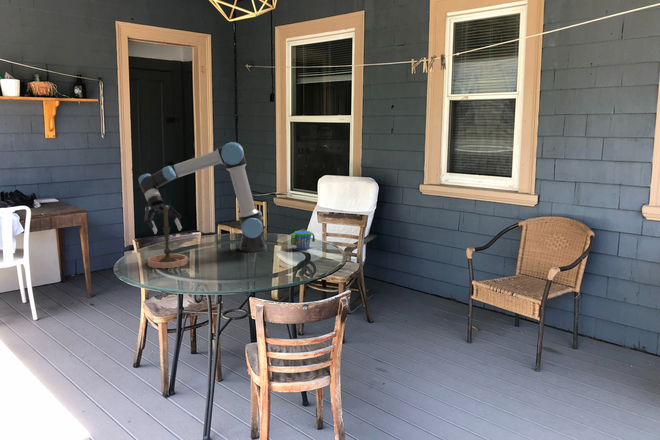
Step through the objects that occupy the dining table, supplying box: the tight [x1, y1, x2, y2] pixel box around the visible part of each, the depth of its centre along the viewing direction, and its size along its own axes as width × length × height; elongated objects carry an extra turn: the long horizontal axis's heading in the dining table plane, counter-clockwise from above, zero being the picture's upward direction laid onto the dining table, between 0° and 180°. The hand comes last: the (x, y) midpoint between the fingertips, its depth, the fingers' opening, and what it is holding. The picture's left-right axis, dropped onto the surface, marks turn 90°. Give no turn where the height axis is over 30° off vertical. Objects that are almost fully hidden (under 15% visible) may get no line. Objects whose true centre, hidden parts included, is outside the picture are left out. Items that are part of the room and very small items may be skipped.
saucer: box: [147, 253, 188, 270], centre depth 279 cm, size 20×20×3 cm
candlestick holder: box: [159, 207, 177, 263], centre depth 276 cm, size 9×9×30 cm
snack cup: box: [290, 230, 316, 250], centre depth 316 cm, size 16×10×10 cm
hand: (168, 230), depth 274 cm, fingers open, 13 cm apart
